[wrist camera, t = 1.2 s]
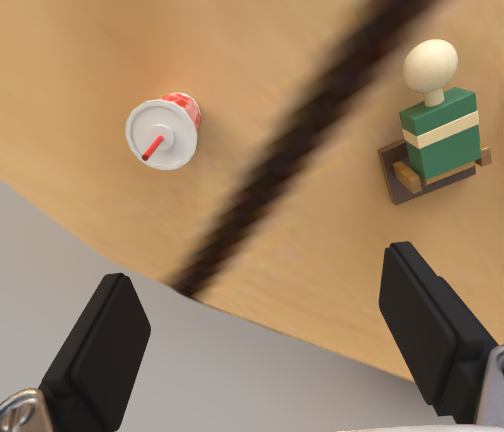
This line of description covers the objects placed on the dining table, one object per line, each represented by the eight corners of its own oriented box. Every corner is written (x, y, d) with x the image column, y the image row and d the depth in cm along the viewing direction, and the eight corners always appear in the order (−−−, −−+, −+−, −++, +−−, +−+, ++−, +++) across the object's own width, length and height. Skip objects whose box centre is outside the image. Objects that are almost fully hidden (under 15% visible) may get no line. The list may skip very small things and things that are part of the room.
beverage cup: (216, 130, 35) (201, 181, 23) (168, 147, 36) (129, 205, 24) (193, 75, 32) (162, 101, 20) (142, 96, 33) (82, 132, 21)
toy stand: (377, 149, 36) (397, 167, 32) (464, 112, 34) (499, 124, 30) (392, 202, 40) (411, 224, 36) (471, 171, 38) (502, 190, 33)
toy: (410, 177, 36) (383, 56, 29) (460, 157, 35) (444, 26, 28) (430, 194, 32) (403, 60, 25) (487, 172, 31) (475, 25, 24)
